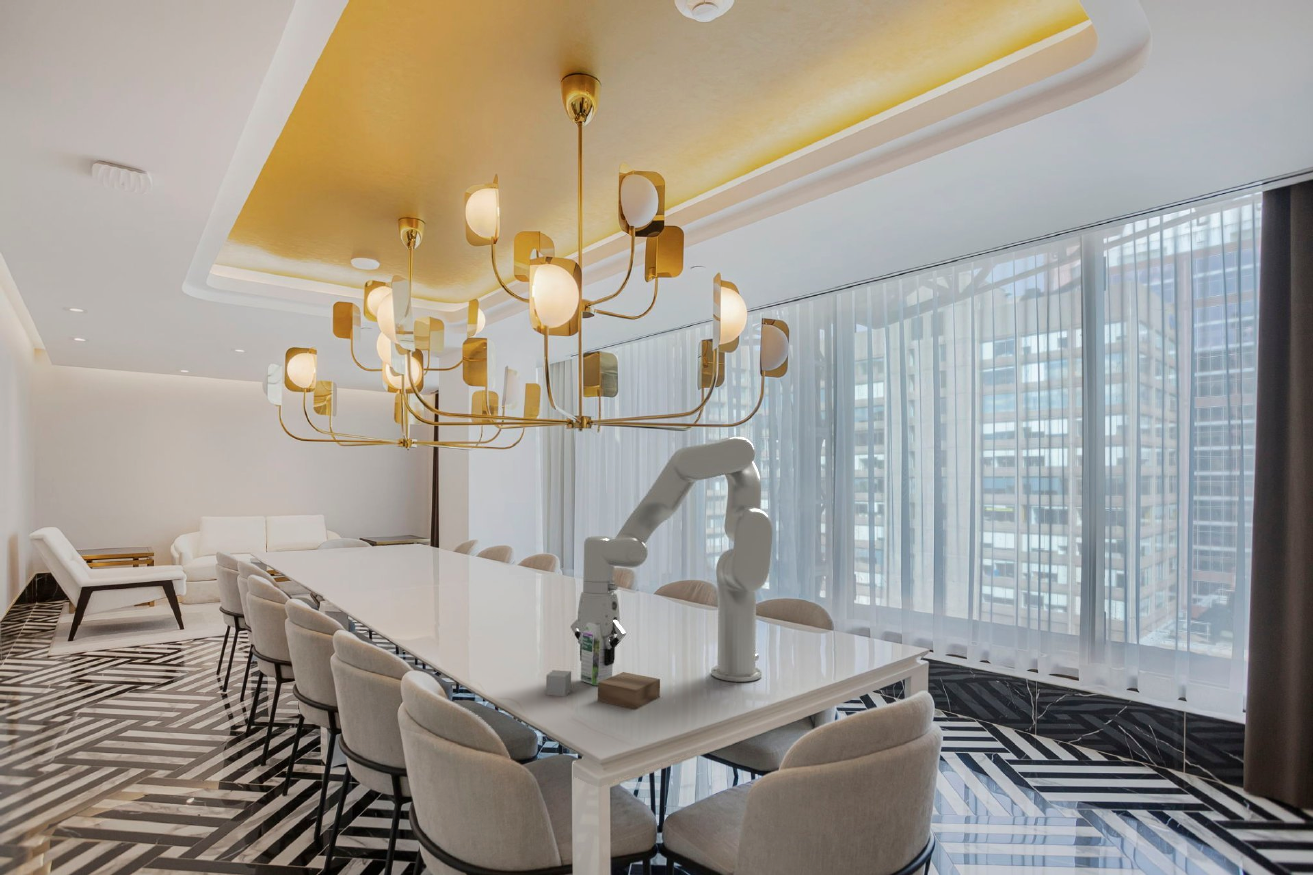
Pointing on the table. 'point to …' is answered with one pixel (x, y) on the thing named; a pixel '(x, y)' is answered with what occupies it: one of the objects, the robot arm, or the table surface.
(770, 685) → the table surface
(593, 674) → the syrup box
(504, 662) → the table surface
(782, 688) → the table surface
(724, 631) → the robot arm
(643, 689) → the walnut base
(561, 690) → the grey stone cube
